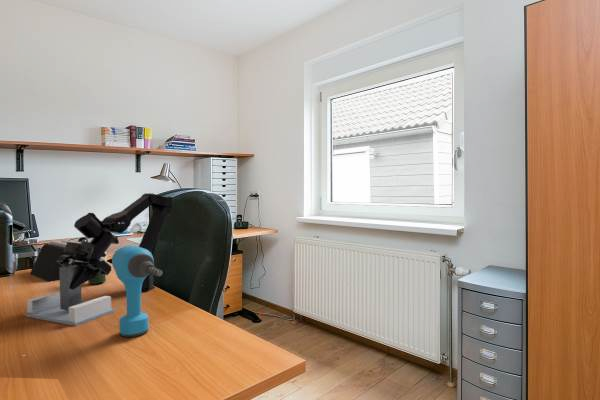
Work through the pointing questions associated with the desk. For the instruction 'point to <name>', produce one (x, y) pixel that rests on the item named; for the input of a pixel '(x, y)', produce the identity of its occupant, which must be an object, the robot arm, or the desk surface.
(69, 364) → the desk surface
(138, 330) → the power drill
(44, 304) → the bar
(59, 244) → the device stand
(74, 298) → the steel block
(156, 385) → the desk surface
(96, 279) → the character mug
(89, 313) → the vise base
